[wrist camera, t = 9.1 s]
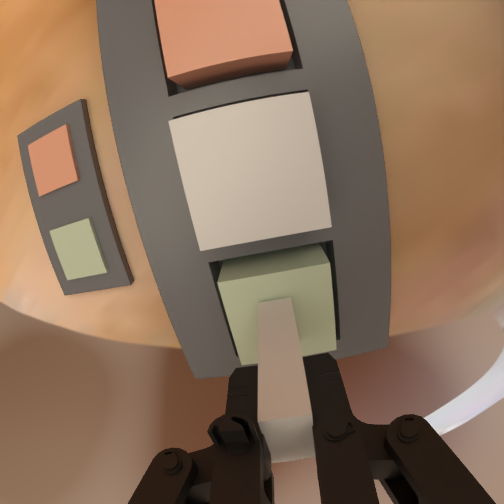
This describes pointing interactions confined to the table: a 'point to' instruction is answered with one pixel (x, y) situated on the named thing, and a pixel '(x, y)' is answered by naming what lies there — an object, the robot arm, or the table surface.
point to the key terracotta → (221, 39)
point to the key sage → (280, 296)
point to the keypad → (210, 261)
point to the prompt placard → (72, 202)
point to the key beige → (252, 170)
